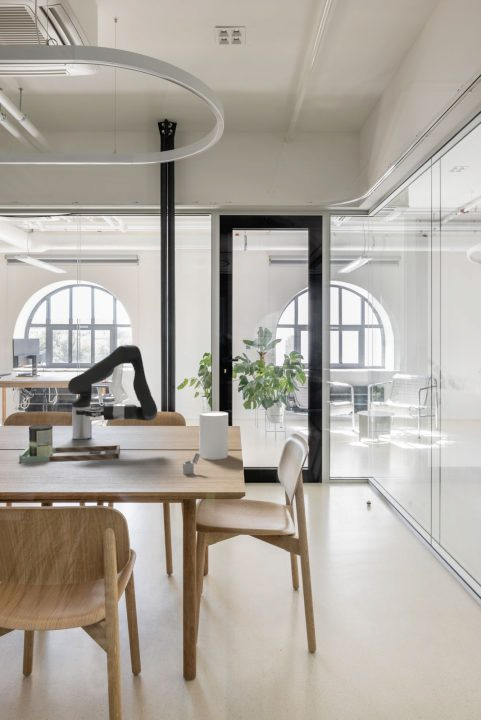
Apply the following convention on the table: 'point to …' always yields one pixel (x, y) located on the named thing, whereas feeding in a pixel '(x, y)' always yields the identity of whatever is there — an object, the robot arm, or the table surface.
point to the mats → (105, 452)
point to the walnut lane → (85, 457)
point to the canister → (213, 435)
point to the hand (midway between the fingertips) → (76, 412)
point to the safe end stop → (33, 458)
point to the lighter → (190, 465)
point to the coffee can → (40, 440)
